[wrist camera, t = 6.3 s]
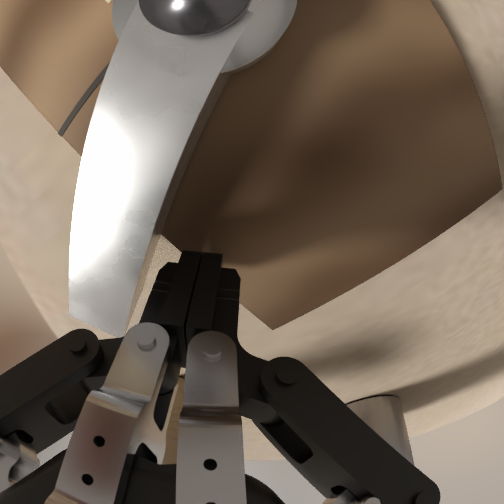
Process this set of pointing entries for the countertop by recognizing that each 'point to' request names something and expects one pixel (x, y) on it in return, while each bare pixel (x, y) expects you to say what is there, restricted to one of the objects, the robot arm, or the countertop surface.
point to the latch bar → (152, 136)
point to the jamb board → (295, 141)
